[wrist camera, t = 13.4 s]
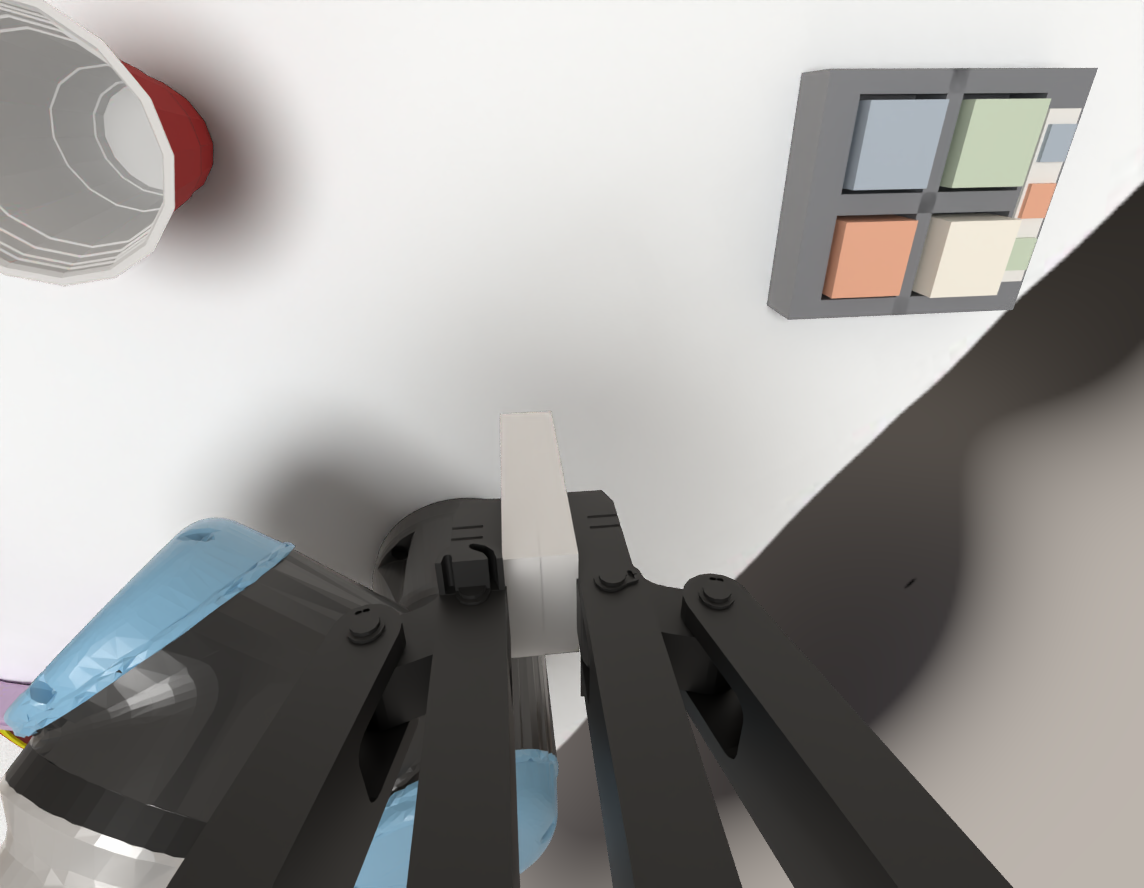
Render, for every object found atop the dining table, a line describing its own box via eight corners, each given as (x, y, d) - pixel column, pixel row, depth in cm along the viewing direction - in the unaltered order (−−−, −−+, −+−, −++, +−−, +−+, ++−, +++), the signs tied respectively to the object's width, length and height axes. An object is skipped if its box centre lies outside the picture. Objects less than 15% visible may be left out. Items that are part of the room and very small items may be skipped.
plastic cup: (302, 201, 36) (223, 235, 25) (141, 264, 36) (-1, 323, 26) (189, -13, 31) (29, -81, 20) (2, 65, 31) (-246, 38, 21)
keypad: (976, 296, 44) (1018, 311, 40) (767, 305, 42) (791, 321, 39) (1048, 72, 37) (1105, 67, 34) (801, 72, 36) (835, 68, 32)
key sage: (986, 181, 39) (1022, 186, 36) (920, 183, 38) (951, 188, 36) (1011, 99, 36) (1051, 98, 34) (941, 100, 36) (976, 99, 33)
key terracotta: (873, 284, 41) (899, 295, 38) (809, 286, 41) (831, 298, 38) (889, 213, 39) (918, 220, 36) (822, 215, 38) (846, 222, 36)
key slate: (897, 183, 38) (926, 188, 35) (828, 185, 38) (853, 190, 35) (916, 100, 36) (949, 99, 33) (843, 101, 35) (871, 99, 33)
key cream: (964, 283, 41) (996, 295, 38) (902, 286, 41) (929, 297, 38) (986, 212, 39) (1022, 219, 36) (920, 214, 38) (951, 221, 36)
